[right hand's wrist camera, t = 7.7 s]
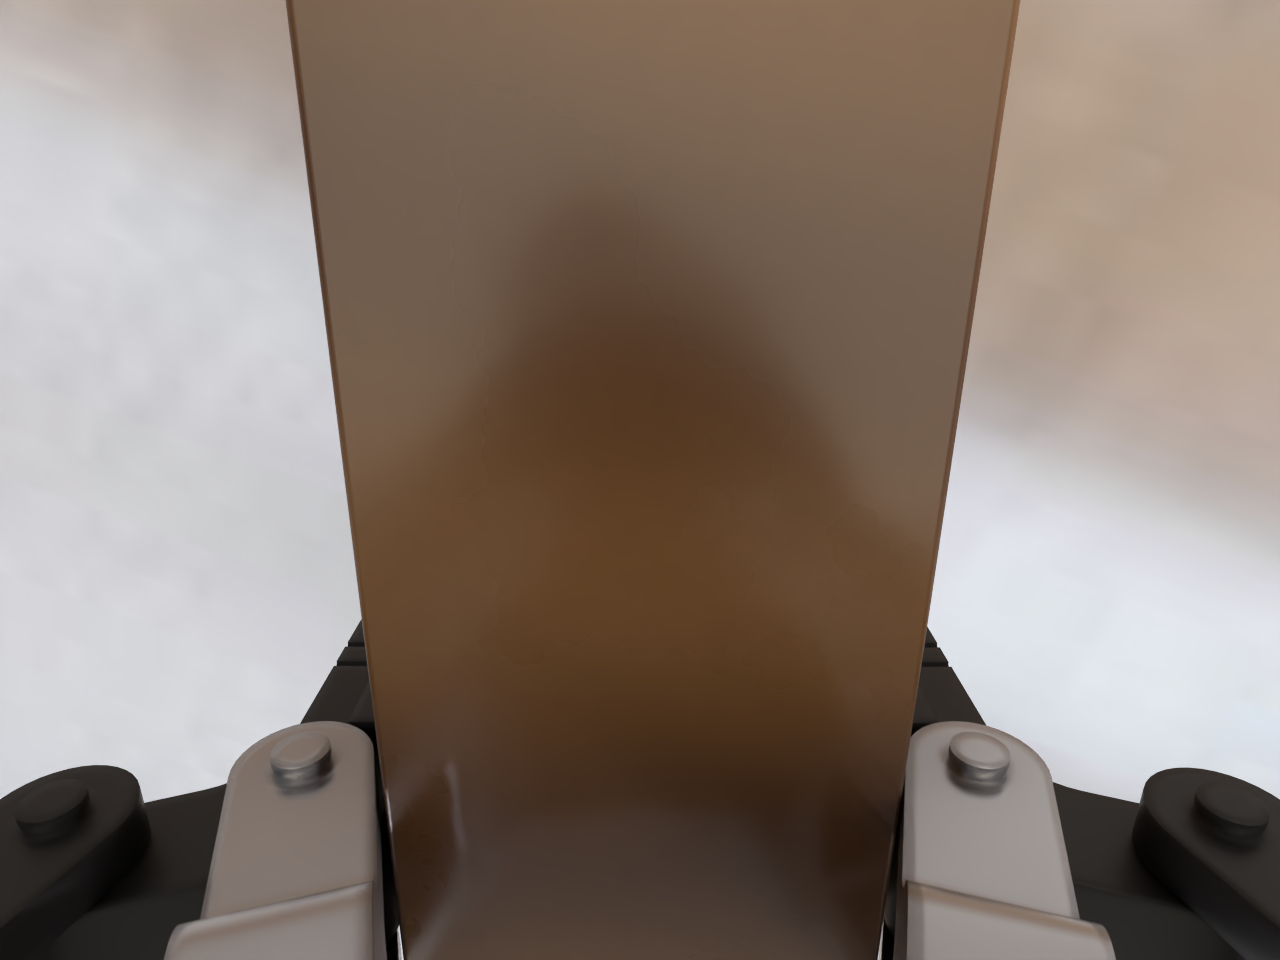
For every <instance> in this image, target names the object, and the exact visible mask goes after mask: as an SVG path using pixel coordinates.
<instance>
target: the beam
mask: <svg viewBox="0 0 1280 960" xmlns="http://www.w3.org/2000/svg"><path fill="white" fill-rule="evenodd" d="M1019 6H1020V0H286V7H287V16H288V24H289V32H290V40H291V48H292V56H293V64H294V72H295V81H296V89H297V97H298V105H299V113H300V121H301V129H302V137H303V145H304V154H305V162H306V170H307V178H308V186H309V194H310V202H311V210H312V218H313V227H314V235H315V243H316V251H317V259H318V267H319V275H320V283H321V292H322V300H323V308H324V316H325V324H326V332H327V340H328V348H329V356H330V365H331V373H332V381H333V389H334V397H335V405H336V413H337V421H338V429H339V438H340V446H341V454H342V462H343V470H344V478H345V486H346V494H347V503H348V511H349V519H350V527H351V535H352V543H353V551H354V559H355V567H356V576H357V584H358V592H359V600H360V608H361V616H362V624H363V632H364V640H365V649H366V657H367V665H368V673H369V681H370V689H371V697H372V705H373V714H374V722H375V730H376V738H377V746H378V754H379V762H380V770H381V778H382V787H383V795H384V803H385V811H386V819H387V827H388V835H389V843H390V851H391V860H392V868H393V876H394V884H395V892H396V900H397V908H398V916H399V925H400V933H401V941H402V949H403V957H404V960H877V959H878V952H879V945H880V939H881V932H882V925H883V919H884V912H885V905H886V898H887V892H888V885H889V878H890V872H891V865H892V858H893V852H894V845H895V838H896V831H897V825H898V818H899V811H900V805H901V798H902V791H903V784H904V778H905V771H906V764H907V758H908V751H909V744H910V737H911V731H912V724H913V717H914V711H915V704H916V697H917V690H918V684H919V677H920V670H921V664H922V657H923V650H924V643H925V637H926V630H927V623H928V617H929V610H930V603H931V597H932V590H933V583H934V576H935V570H936V563H937V556H938V550H939V543H940V536H941V529H942V523H943V516H944V509H945V503H946V496H947V489H948V482H949V476H950V469H951V462H952V456H953V449H954V442H955V435H956V429H957V422H958V415H959V409H960V402H961V395H962V389H963V382H964V375H965V368H966V362H967V355H968V348H969V342H970V335H971V328H972V321H973V315H974V308H975V301H976V295H977V288H978V281H979V274H980V268H981V261H982V254H983V248H984V241H985V234H986V227H987V221H988V214H989V207H990V201H991V194H992V187H993V181H994V174H995V167H996V160H997V154H998V147H999V140H1000V134H1001V127H1002V120H1003V113H1004V107H1005V100H1006V93H1007V87H1008V80H1009V73H1010V66H1011V60H1012V53H1013V46H1014V40H1015V33H1016V26H1017V19H1018V13H1019Z"/></svg>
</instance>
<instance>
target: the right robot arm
mask: <svg viewBox="0 0 1280 960" xmlns="http://www.w3.org/2000/svg"><path fill="white" fill-rule="evenodd" d="M398 926H399V916H398V908H397V900H396V892H395V884H394V876H393V868H392V860H391V851H390V843H389V835H388V827H387V819H386V811H385V803H384V795H383V787H382V778H381V770H380V762H379V754H378V746H377V738H376V730H375V722H374V714H373V705H372V697H371V689H370V681H369V673H368V665H367V657H366V649H365V640H364V632H363V624H362V619H361V621H360V623H359V624H358V626H357V628H356V630H355V631H354V633H353V635H352V636H351V638H350V640H349V641H348V647H345V648H344V650H343V652H342V653H341V655H340V657H339V658H338V660H337V666H334V667H333V669H332V670H331V672H330V674H329V676H328V677H327V679H326V681H325V682H324V684H323V686H322V687H321V689H320V691H319V693H318V694H317V696H316V698H315V699H314V701H313V703H312V704H311V706H310V708H309V710H308V711H307V713H306V715H305V716H304V718H303V720H302V722H301V723H300V724H299V725H294V726H291V727H288V728H285V729H282V730H280V731H277V732H275V733H273V734H270V735H269V736H267V737H265V738H263V739H261V740H260V741H258V742H257V743H255V744H254V745H252V746H251V747H250V748H249V749H247V750H246V751H245V752H244V753H243V754H242V755H241V756H240V757H239V758H238V760H237V761H236V762H235V764H234V765H233V767H232V769H231V771H230V774H229V777H228V782H227V784H224V785H221V786H218V787H214V788H210V789H206V790H202V791H197V792H193V793H188V794H183V795H179V796H174V797H170V798H165V799H161V800H156V801H151V802H147V803H144V801H143V797H142V793H141V790H140V786H139V783H138V780H137V779H136V778H135V777H134V775H133V774H131V773H130V772H128V771H127V770H124V769H121V768H119V767H114V766H107V765H92V766H82V767H76V768H71V769H67V770H63V771H59V772H56V773H53V774H50V775H47V776H44V777H41V778H39V779H37V780H34V781H32V782H30V783H28V784H26V785H24V786H22V787H20V788H18V789H16V790H14V791H13V792H11V793H9V794H8V795H6V796H5V797H3V798H2V799H0V960H401V946H400V939H399V931H398ZM879 960H1280V800H1279V799H1278V798H1276V797H1275V796H1273V795H1272V794H1270V793H1268V792H1266V791H1264V790H1263V789H1261V788H1259V787H1257V786H1255V785H1252V784H1250V783H1248V782H1246V781H1243V780H1241V779H1238V778H1235V777H1232V776H1229V775H1226V774H1222V773H1219V772H1215V771H1210V770H1204V769H1197V768H1172V769H1166V770H1163V771H1160V772H1157V773H1156V774H1154V775H1153V776H1151V777H1150V778H1149V779H1148V780H1147V782H1146V783H1145V786H1144V789H1143V793H1142V797H1141V800H1140V804H1139V803H1135V802H1130V801H1125V800H1121V799H1116V798H1112V797H1107V796H1102V795H1098V794H1093V793H1089V792H1084V791H1080V790H1076V789H1072V788H1068V787H1065V786H1063V785H1060V784H1057V783H1054V782H1052V777H1051V774H1050V771H1049V769H1048V767H1047V766H1046V764H1045V762H1044V761H1043V760H1042V759H1041V757H1040V756H1039V755H1038V754H1037V753H1036V752H1035V751H1034V750H1033V749H1031V748H1030V747H1029V746H1028V745H1026V744H1025V743H1023V742H1022V741H1020V740H1019V739H1017V738H1015V737H1013V736H1011V735H1010V734H1007V733H1005V732H1003V731H1000V730H998V729H995V728H992V727H989V726H986V724H985V723H984V721H983V719H982V718H981V716H980V714H979V712H978V711H977V709H976V707H975V706H974V704H973V702H972V701H971V699H970V697H969V696H968V694H967V692H966V691H965V689H964V687H963V686H962V684H961V682H960V681H959V679H958V677H957V676H956V674H955V672H954V671H953V669H952V667H949V666H948V661H947V659H946V657H945V656H944V654H943V652H942V651H941V649H940V648H937V642H936V641H935V639H934V637H933V636H932V634H931V632H930V631H929V629H928V627H927V630H926V637H925V643H924V650H923V657H922V664H921V670H920V677H919V684H918V690H917V697H916V704H915V711H914V717H913V724H912V731H911V737H910V744H909V751H908V758H907V764H906V771H905V778H904V784H903V791H902V798H901V805H900V811H899V818H898V825H897V831H896V838H895V845H894V852H893V858H892V865H891V872H890V878H889V885H888V892H887V898H886V905H885V912H884V919H883V925H882V932H881V939H880V945H879Z"/></svg>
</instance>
